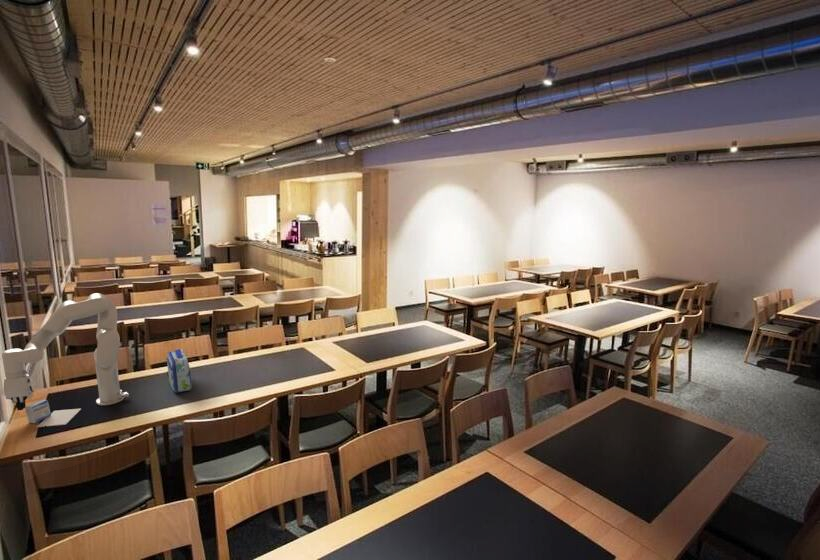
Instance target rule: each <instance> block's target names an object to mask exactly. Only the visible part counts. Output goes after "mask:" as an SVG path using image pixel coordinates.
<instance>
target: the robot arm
mask: <svg viewBox="0 0 820 560" xmlns="http://www.w3.org/2000/svg"><path fill="white" fill-rule="evenodd" d="M96 315H97V326H96V327H97V328H96V333H95V334H96V335H95V336H96V341H97V344H96V345H97V347H96V348H95V350H94V352H93V359H94V360H93V361H94V364H95V365H94V366H95V371H96V372H95V373H96V381H97V389H98V390H97V391H98V398H97V399H96V400H95V404H97V405H98V406H111V405H115V404H117V403H119V402H122V401H123V400H125V399H124V398H128V397H129V393H128V391H124V392H123V390H122V389H121V388H120V379H119V369H118V368H119V366H118V360H119V356H120V344H121V343H120V342H121V338H120V334H119V332H118V310H117V307H116V305H115V303H114V302H113V300H112V299H111V298H109V297H108V296H107V295H105V294H102V293H99V292H96V293H95V292H94V293H91V294H90V295H89V296H88V297H87V299H85V300H82V301H78V302H76V301H75V300H69V299H68V300H65V301H62V303H61V304H59V306H58V308H57V309H56V310H55V311H54V313H52V315H50V317H49V318H48V320H47V321H46V322H45V323H44V325H42V326H41V328H40V329H39V330H38V331H37V332H36V333H35V334H34V336H33V337H31V339H30V341H29V342H27V344H26V345H25V347H24V349H21V348H16V347H15V348H9V349H6V350H3V351H2V353H1V359H2V364H3V371H4V376H5V377H4V379H3V394H4V397H5V399H6V400H11V401H12V402H13V403H14V404H15V407H16V410H17V411H23V410H24V409H25V407H26V406H27V405H26V400H27V399H29V398H32V397H34V394H33V393H34V391H35V390H34V385H33V381H32V378H31V376H30V375H29V374H30V370H27V369H26V364H35V363H39V362H40V361H42V360H43V359H44V357H45V349H46V348H47V347H48V346H49V344H50V343H51V342H52V341H53V340H54V339H55V338H57V337H59V336H61V335H62V334H63V333H64V332H65V331H66V330H67V328H68V327H69V325H70V324H71V323H72V322H73V321H75V320H81V319H85V318H88V317H92V316H96Z"/></svg>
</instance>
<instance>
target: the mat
mask: <svg viewBox="0 0 820 560" xmlns="http://www.w3.org/2000/svg"><path fill="white" fill-rule="evenodd" d="M81 410H82V408H72V409H60V410H53V411H52V412H51V416H49V417H47V418H45V419H43V420H41V421H40V422H39V424H38V425H37V426H36V428H42V427H43V428H46V427H53V426H54V427H55V426H64V425H65V426H66V425H67V424H68V423H69V422H70V421H71V420H72V419H73V418H74V417H75V416H76V415H77V414H78V413H79V412H80V411H81ZM45 426H46V427H45Z"/></svg>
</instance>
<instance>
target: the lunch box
mask: <svg viewBox="0 0 820 560" xmlns="http://www.w3.org/2000/svg"><path fill="white" fill-rule="evenodd" d="M166 363H167V364H166V365H167V371H166V372H167V377H168V382H169V383H170V387H171V388H172V391H173V392H174V393H175V394H178V393H181V392H187V391H191V390H192V387H193V386H192V385H193V384H192V376H191V375H192V374H191V368H190V363H189V361H188V358H187V355H186V353H185V351H184V349H180V348H179V349H175V350H172V351H168V352H167V357H166Z"/></svg>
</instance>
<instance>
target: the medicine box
mask: <svg viewBox="0 0 820 560" xmlns="http://www.w3.org/2000/svg"><path fill="white" fill-rule="evenodd" d="M50 408H51V407H50V404H49V400H47V399H40V400H38V401H36V402H33V403H31V404H29V405H26V407H25V408H24V409H25V413H26V414H25V415H26V418H27V422H28V423H31V424H38V423H40V422H42V421H44V420H45V419H46V418H47V417H49V416H51V413H52V412H51V409H50Z"/></svg>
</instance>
